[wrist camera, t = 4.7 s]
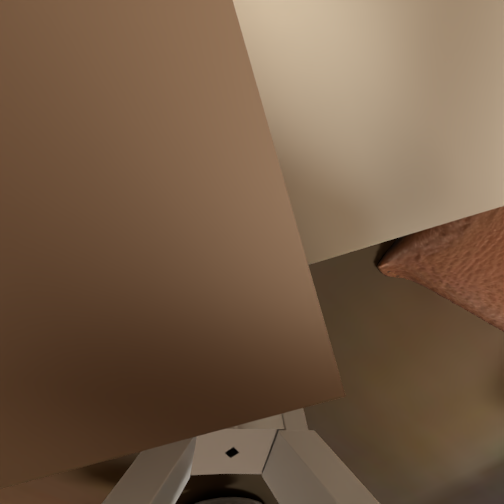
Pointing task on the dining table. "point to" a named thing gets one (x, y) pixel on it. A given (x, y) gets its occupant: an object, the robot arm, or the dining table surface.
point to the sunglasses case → (457, 263)
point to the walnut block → (142, 237)
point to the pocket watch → (229, 501)
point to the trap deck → (380, 112)
